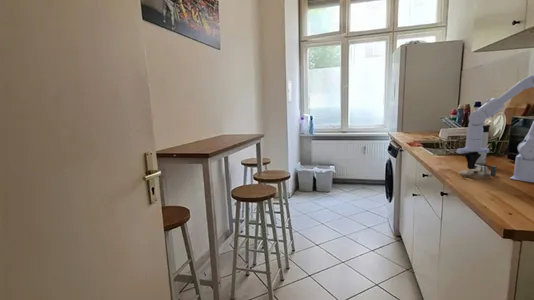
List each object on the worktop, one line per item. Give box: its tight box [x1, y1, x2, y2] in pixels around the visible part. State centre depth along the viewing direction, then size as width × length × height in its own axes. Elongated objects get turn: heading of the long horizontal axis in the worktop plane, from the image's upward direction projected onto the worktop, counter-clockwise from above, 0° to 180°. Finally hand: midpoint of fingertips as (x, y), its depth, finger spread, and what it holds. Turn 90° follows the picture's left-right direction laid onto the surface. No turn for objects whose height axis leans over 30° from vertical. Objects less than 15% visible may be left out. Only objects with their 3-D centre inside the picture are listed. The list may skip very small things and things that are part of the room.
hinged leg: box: [469, 164, 488, 172], centre depth 127 cm, size 7×2×3 cm, turn 11°
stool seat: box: [459, 169, 491, 180], centre depth 125 cm, size 11×11×3 cm
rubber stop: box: [490, 165, 498, 177], centre depth 126 cm, size 1×2×4 cm, turn 128°
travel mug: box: [471, 124, 491, 166], centre depth 146 cm, size 6×7×20 cm
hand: (470, 168), depth 129 cm, fingers closed
